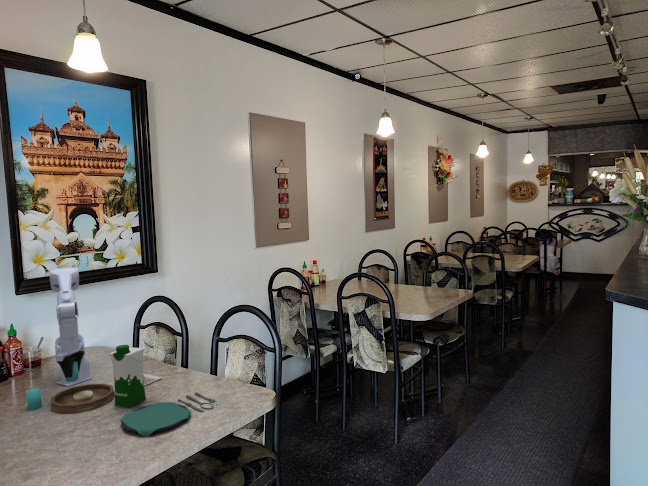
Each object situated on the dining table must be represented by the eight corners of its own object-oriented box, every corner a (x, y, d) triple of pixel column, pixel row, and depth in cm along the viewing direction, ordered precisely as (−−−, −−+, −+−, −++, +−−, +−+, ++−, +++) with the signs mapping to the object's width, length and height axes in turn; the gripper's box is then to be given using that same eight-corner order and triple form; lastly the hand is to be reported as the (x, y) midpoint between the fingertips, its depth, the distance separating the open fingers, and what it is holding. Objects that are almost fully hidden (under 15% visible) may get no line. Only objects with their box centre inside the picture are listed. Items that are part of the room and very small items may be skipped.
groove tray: (93, 386, 177) (92, 380, 177) (126, 396, 167) (126, 389, 166) (38, 406, 160) (38, 399, 160) (72, 418, 150) (71, 410, 150)
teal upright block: (80, 379, 166) (79, 362, 166) (68, 382, 163) (67, 365, 163) (75, 376, 169) (74, 360, 168) (63, 380, 166) (62, 363, 165)
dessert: (136, 391, 172) (135, 378, 172) (115, 385, 178) (114, 373, 178) (163, 380, 183) (162, 368, 182) (142, 375, 189) (141, 363, 188)
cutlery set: (109, 423, 146) (109, 416, 146) (195, 394, 168) (194, 388, 168) (140, 444, 132) (140, 436, 132) (229, 410, 155) (229, 403, 154)
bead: (37, 404, 162) (36, 387, 162) (44, 406, 160) (42, 389, 160) (25, 408, 159) (24, 391, 158) (31, 411, 157) (30, 393, 156)
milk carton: (110, 406, 158) (106, 347, 157) (129, 396, 167) (126, 340, 165) (131, 409, 155) (128, 349, 154) (150, 398, 164) (147, 341, 162)
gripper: (69, 331, 172) (72, 368, 173) (45, 343, 158) (48, 383, 159) (88, 331, 172) (91, 367, 173) (66, 342, 158) (69, 382, 159)
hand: (72, 375), depth 166 cm, fingers closed on teal upright block, 4 cm apart
